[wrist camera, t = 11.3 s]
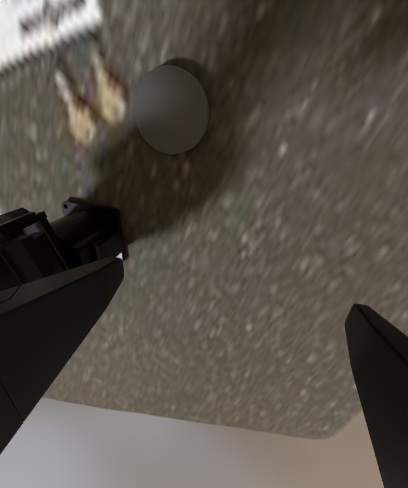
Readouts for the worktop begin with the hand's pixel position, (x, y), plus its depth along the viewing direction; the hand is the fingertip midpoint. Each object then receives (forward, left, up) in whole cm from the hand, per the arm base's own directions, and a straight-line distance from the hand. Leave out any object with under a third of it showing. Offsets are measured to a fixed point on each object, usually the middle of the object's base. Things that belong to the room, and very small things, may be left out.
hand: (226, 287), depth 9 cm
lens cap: (-7, +6, -13) cm, 16 cm away
